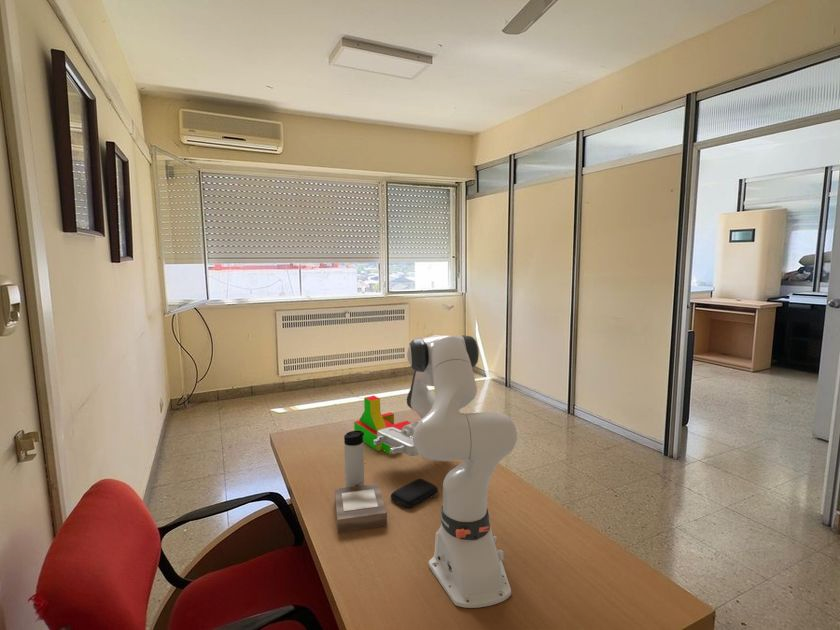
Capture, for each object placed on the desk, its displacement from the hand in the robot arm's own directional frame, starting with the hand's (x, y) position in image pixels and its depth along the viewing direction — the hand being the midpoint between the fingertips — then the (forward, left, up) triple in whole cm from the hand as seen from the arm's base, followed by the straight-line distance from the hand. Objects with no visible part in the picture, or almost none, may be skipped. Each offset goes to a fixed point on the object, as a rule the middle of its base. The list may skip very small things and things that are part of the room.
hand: (382, 447), depth 154 cm
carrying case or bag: (-16, -8, -12) cm, 21 cm away
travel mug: (-6, +10, -11) cm, 16 cm away
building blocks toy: (+31, -7, -12) cm, 34 cm away
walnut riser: (-20, +10, -11) cm, 25 cm away
